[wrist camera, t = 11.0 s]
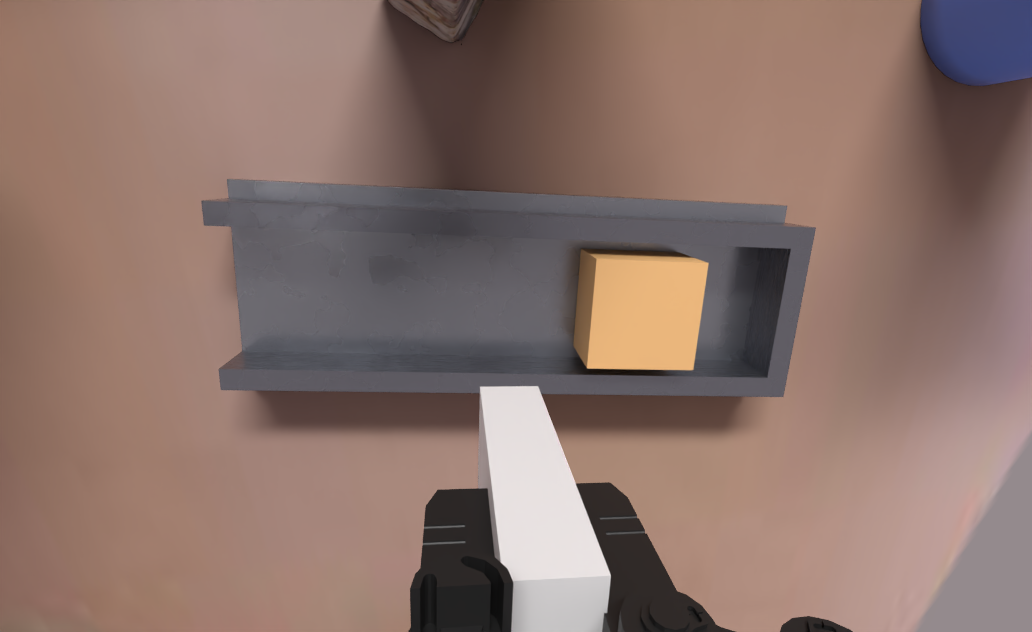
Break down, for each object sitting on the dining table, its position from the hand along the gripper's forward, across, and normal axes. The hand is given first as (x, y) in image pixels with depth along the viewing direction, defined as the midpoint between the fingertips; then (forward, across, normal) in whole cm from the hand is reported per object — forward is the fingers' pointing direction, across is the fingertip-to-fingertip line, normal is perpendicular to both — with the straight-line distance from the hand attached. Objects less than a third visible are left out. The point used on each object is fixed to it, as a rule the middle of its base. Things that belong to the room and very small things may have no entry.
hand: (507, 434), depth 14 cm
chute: (+19, +2, -1) cm, 19 cm away
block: (+18, +9, -1) cm, 20 cm away
